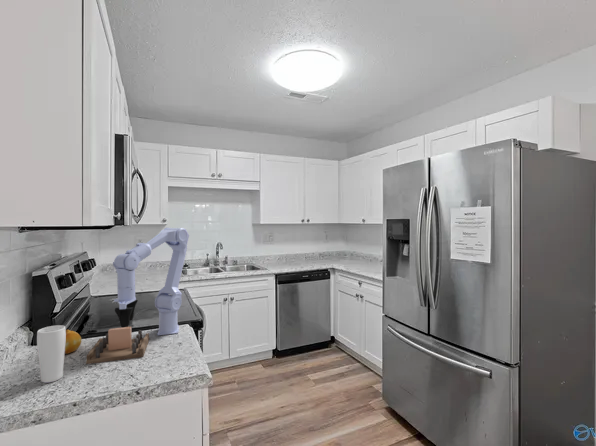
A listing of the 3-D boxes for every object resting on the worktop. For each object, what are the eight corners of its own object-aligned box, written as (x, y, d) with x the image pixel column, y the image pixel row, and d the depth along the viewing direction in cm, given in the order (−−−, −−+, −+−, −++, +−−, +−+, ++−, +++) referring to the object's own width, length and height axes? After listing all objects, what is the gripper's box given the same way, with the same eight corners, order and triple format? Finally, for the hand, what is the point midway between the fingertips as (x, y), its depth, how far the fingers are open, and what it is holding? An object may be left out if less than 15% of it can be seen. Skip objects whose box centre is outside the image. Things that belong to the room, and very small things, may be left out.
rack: (99, 345, 119) (99, 333, 119) (149, 340, 125) (149, 328, 125) (86, 364, 104) (85, 350, 104) (143, 356, 109) (143, 343, 109)
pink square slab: (109, 348, 114) (109, 328, 114) (131, 345, 116) (131, 326, 116) (108, 350, 112) (108, 330, 112) (130, 347, 114) (130, 328, 114)
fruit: (43, 350, 110) (56, 329, 111) (58, 343, 118) (71, 324, 119) (64, 362, 110) (77, 341, 111) (78, 354, 118) (90, 334, 119)
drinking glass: (50, 386, 90) (49, 333, 90) (31, 383, 92) (30, 332, 92) (71, 374, 97) (71, 325, 97) (53, 372, 98) (53, 324, 98)
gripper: (118, 283, 122) (119, 318, 122) (109, 291, 108) (109, 331, 108) (138, 282, 124) (139, 316, 124) (132, 290, 110) (132, 329, 110)
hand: (127, 323), depth 116 cm, fingers open, 7 cm apart
